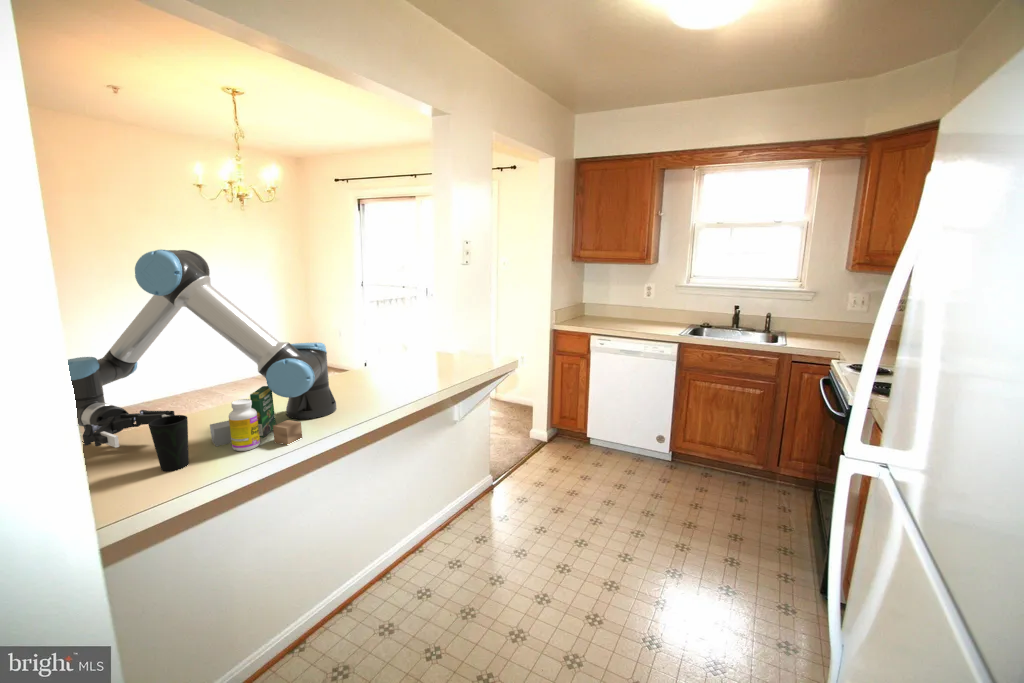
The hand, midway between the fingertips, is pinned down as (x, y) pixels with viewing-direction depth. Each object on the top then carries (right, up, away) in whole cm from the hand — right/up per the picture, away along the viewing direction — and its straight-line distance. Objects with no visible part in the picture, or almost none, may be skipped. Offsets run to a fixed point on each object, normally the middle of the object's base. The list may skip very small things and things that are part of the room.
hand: (148, 432), depth 118 cm
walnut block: (+29, -5, +13) cm, 32 cm away
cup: (+9, -8, -3) cm, 12 cm away
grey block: (+12, -5, +12) cm, 18 cm away
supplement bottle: (+20, -6, +9) cm, 22 cm away
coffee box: (+20, -4, +18) cm, 27 cm away
